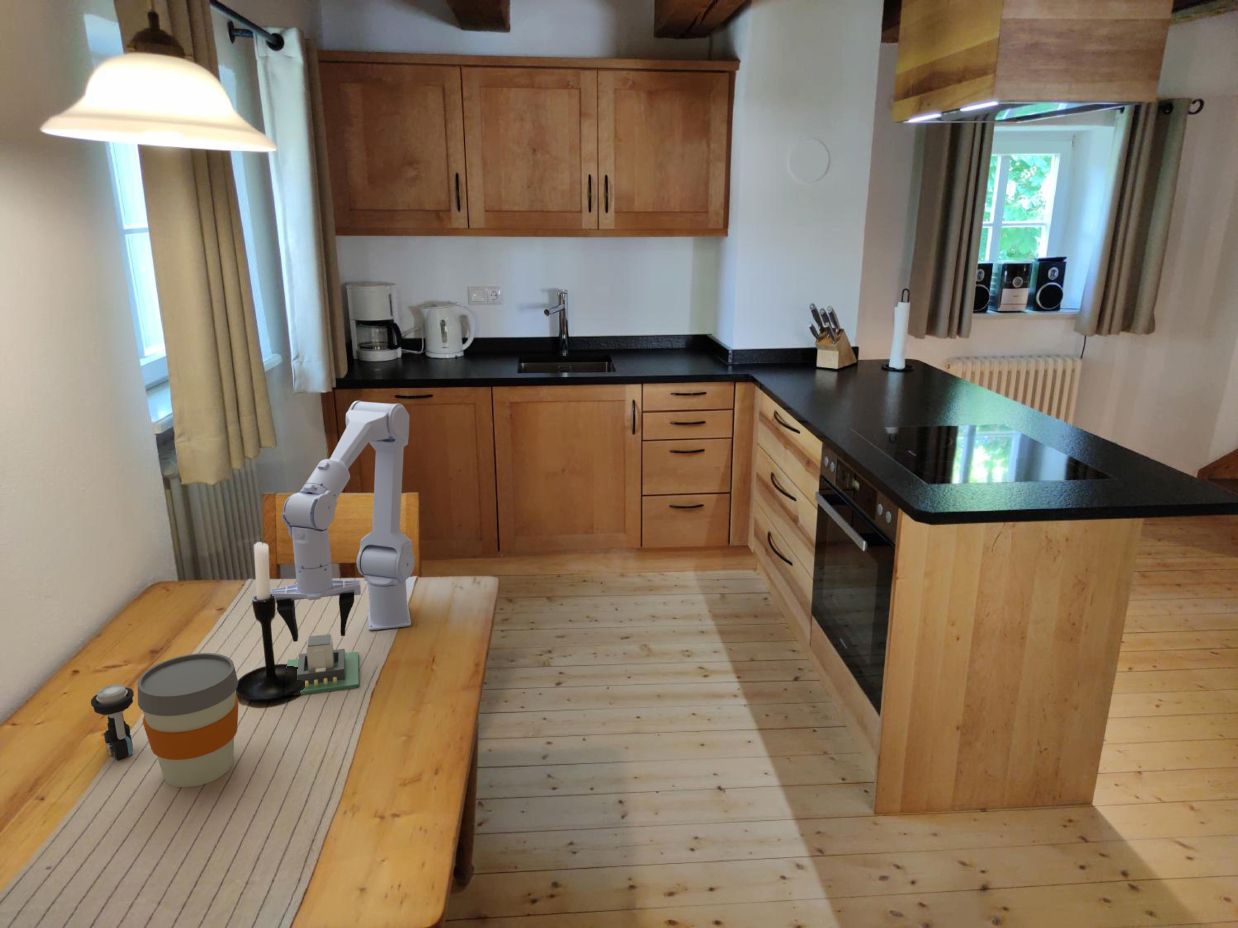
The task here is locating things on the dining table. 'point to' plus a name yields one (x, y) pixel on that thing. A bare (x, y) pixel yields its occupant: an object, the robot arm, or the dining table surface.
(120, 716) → the push button
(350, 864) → the dining table surface
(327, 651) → the plug
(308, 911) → the dining table surface
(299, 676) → the header socket
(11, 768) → the dining table surface
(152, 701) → the reusable coffee cup
